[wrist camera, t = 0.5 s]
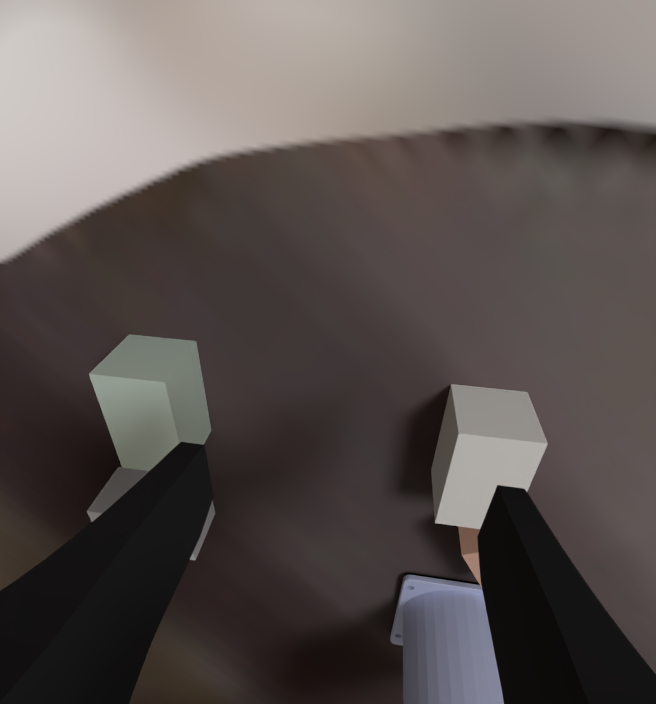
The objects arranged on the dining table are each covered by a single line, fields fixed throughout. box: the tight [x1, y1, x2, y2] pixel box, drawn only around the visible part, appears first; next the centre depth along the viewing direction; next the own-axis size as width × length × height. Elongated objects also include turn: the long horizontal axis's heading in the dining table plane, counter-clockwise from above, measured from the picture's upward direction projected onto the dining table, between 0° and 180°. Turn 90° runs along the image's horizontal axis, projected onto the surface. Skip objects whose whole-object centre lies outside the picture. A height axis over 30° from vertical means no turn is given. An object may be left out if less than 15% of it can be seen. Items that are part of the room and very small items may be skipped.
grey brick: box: [87, 467, 215, 560], centre depth 27 cm, size 6×4×4 cm, turn 89°
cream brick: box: [431, 384, 548, 529], centre depth 21 cm, size 6×4×4 cm, turn 179°
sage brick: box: [89, 335, 211, 471], centre depth 22 cm, size 6×4×4 cm, turn 179°
